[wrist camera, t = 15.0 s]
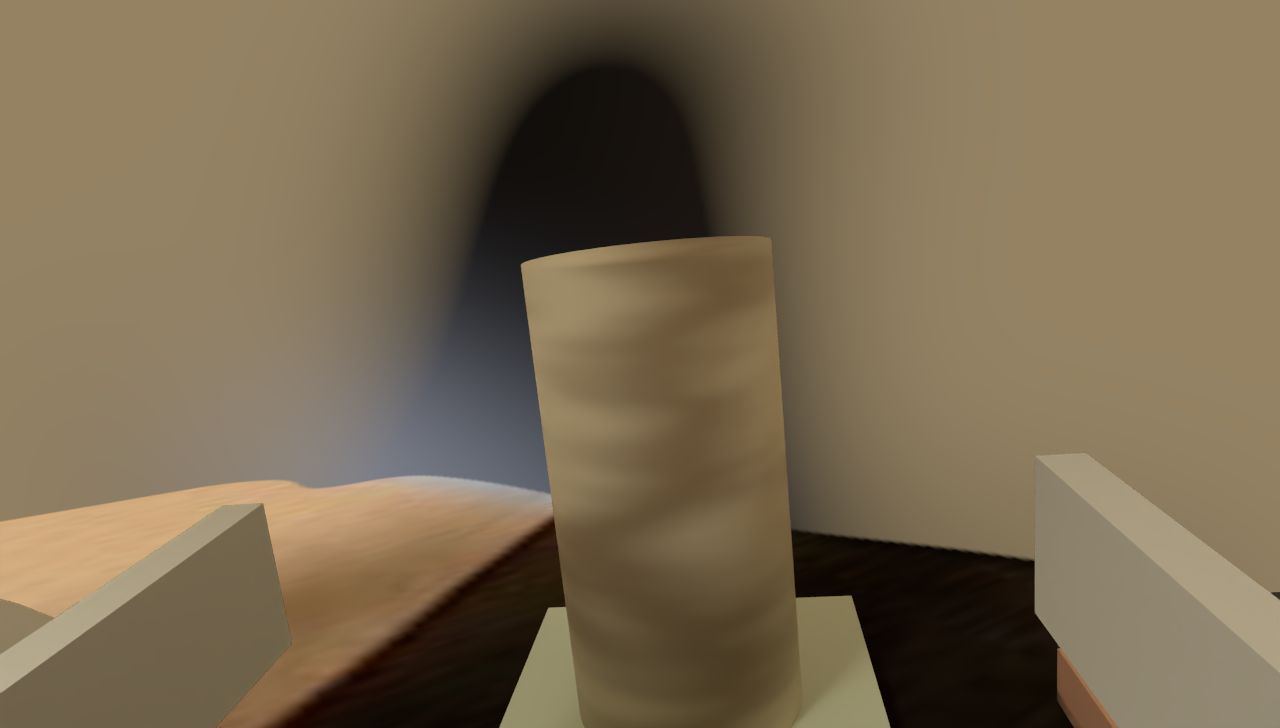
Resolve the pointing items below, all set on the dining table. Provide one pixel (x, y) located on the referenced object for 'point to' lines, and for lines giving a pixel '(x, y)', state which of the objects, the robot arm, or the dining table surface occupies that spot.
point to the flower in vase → (18, 623)
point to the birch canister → (669, 480)
